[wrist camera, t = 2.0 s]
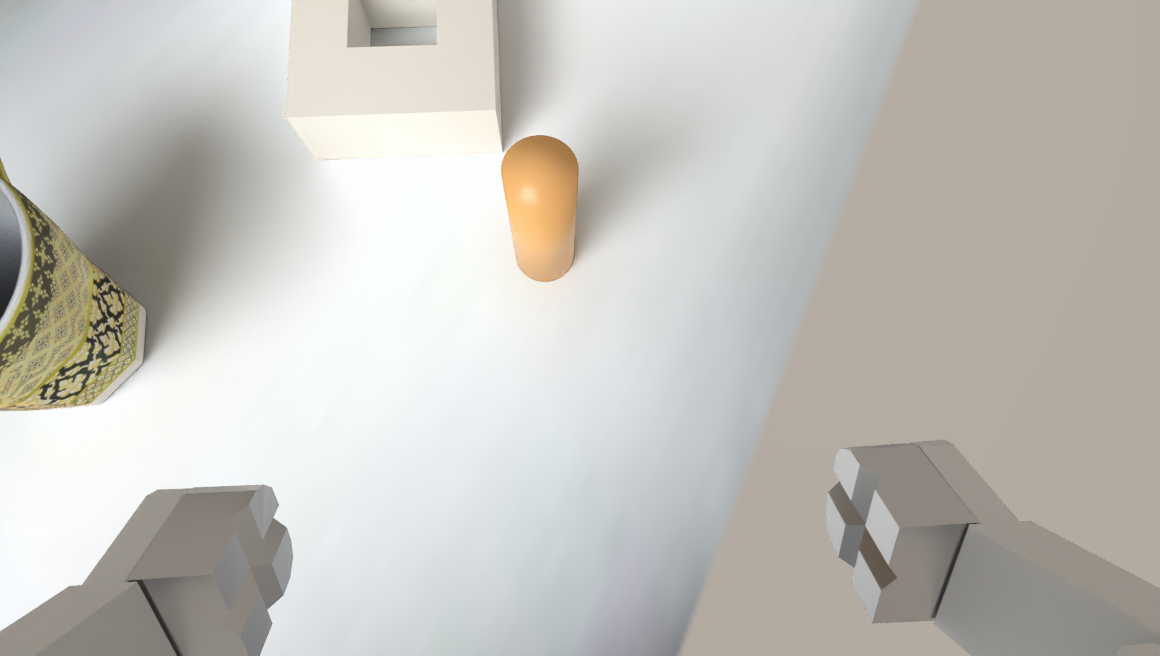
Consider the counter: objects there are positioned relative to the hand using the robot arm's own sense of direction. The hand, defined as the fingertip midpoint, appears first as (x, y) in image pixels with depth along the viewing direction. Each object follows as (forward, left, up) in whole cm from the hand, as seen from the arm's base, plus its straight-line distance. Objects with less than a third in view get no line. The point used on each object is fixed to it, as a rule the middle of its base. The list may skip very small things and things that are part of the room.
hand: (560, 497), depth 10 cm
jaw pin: (0, +12, -22) cm, 25 cm away
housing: (-7, +24, -22) cm, 34 cm away
